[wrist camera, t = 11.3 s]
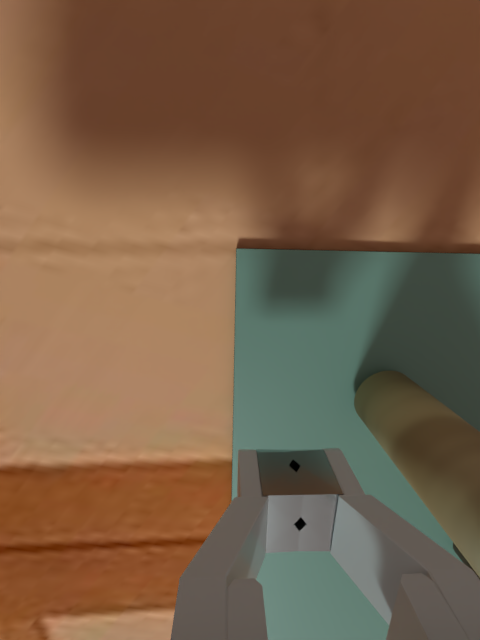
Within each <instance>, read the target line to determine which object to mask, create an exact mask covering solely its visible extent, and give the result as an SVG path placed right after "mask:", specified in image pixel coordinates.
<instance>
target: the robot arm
mask: <svg viewBox="0 0 480 640" xmlns="http://www.w3.org/2000/svg"><path fill="white" fill-rule="evenodd" d="M294 551H331V552H330V554H331V555H332V556H333V557H334V558H335V560H336V561H337V562H338V563H339V565H340V566H341V567H342V568H343V570H344V571H345V572H346V573H347V574H348V576H349V577H350V578H351V579H352V581H353V582H354V583H355V584H356V585H357V587H358V588H359V589H360V590H361V592H362V593H363V594H364V595H365V597H366V598H367V599H368V600H369V601H370V603H371V604H372V605H373V606H374V608H375V609H376V610H377V611H378V612H379V614H380V615H381V616H382V617H383V619H384V620H385V621H386V622H387V624H388V625H389V629H388V633H387V637H386V640H480V580H479V578H478V577H477V575H476V574H475V573H474V571H473V570H472V569H470V568H469V567H468V566H466V565H465V564H464V563H462V562H461V561H460V560H458V559H457V558H455V557H454V556H453V555H451V554H450V553H449V552H447V551H446V550H445V549H443V548H442V547H441V546H439V545H438V544H437V543H435V542H434V541H433V540H431V539H430V538H429V537H427V536H426V535H424V534H423V533H422V532H420V531H419V530H418V529H416V528H415V527H414V526H412V525H411V524H410V523H408V522H407V521H406V520H404V519H403V518H402V517H400V516H399V515H398V514H396V513H395V512H393V511H392V510H391V509H389V508H388V507H387V506H385V505H384V504H383V503H381V502H380V501H379V500H377V499H376V498H375V497H373V496H372V495H365V493H364V491H363V489H362V488H361V486H360V484H359V482H358V480H357V478H356V476H355V475H354V473H353V471H352V469H351V467H350V465H349V464H348V462H347V460H346V458H345V456H344V454H343V452H342V451H341V450H340V449H339V448H328V449H301V450H274V449H256V450H250V449H239V450H238V476H237V497H235V498H234V499H233V501H232V502H231V504H230V505H229V507H228V508H227V510H226V511H225V512H224V514H223V515H222V517H221V518H220V520H219V521H218V523H217V524H216V526H215V527H214V529H213V530H212V532H211V533H210V535H209V536H208V537H207V539H206V540H205V542H204V543H203V545H202V546H201V548H200V549H199V551H198V552H197V554H196V555H195V557H194V558H193V559H192V561H191V562H190V564H189V565H188V567H187V568H186V570H185V571H184V573H183V574H182V576H181V577H180V580H179V587H178V593H177V600H176V607H175V614H174V620H173V627H172V634H171V640H268V636H267V626H266V617H265V608H264V598H263V589H262V585H261V584H260V583H259V582H258V581H257V580H256V578H257V575H258V573H259V570H260V568H261V565H262V563H263V560H264V558H265V553H277V552H294Z"/></svg>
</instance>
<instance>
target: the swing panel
mask: <svg viewBox="0 0 480 640" xmlns="http://www.w3.org/2000/svg"><path fill="white" fill-rule="evenodd" d="M354 407H355V410H356V413H357V414H358V416H359V417H360V418H361V420H362V421H363V422H364V424H365V425H366V426H367V428H368V429H369V430H370V432H371V433H372V434H373V436H374V437H375V438H376V440H377V441H378V442H379V444H380V445H381V447H382V448H383V449H384V451H385V452H386V453H387V455H388V456H389V457H390V459H391V460H392V461H393V463H394V464H395V465H396V467H397V468H398V469H399V471H400V472H401V473H402V475H403V476H404V477H405V479H406V480H407V481H408V483H409V484H410V485H411V487H412V488H413V489H414V491H415V492H416V493H417V495H418V496H419V497H420V499H421V500H422V501H423V503H424V504H425V505H426V507H427V508H428V509H429V511H430V512H431V513H432V515H433V516H434V517H435V519H436V520H437V521H438V523H439V524H440V525H441V527H442V528H443V529H444V531H445V532H446V533H447V535H448V536H449V537H450V539H451V540H452V541H453V543H454V544H455V545H456V547H457V548H458V549H459V551H460V552H461V553H462V555H463V556H464V557H465V559H466V560H467V561H468V563H469V564H470V565H471V567H472V568H473V569H474V571H475V572H476V573H477V575H478V576H479V577H480V432H479V431H478V430H477V429H475V428H474V427H473V426H471V425H470V424H469V423H467V422H466V421H465V420H463V419H462V418H461V417H460V416H458V415H457V414H456V413H454V412H453V411H452V410H450V409H449V408H448V407H446V406H445V405H444V404H442V403H441V402H440V401H439V400H437V399H436V398H435V397H433V396H432V395H431V394H429V393H428V392H427V391H425V390H424V389H423V388H421V387H420V386H419V385H418V384H416V383H415V382H414V381H412V380H411V379H410V378H408V377H407V376H406V375H404V374H402V373H400V372H397V371H382V372H378V373H376V374H373V375H372V376H370V377H368V378H367V379H366V380H365V381H364V382H363V383H362V384H361V385H360V386H359V388H358V390H357V392H356V394H355V398H354Z"/></svg>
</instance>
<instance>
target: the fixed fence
mask: <svg viewBox="0 0 480 640" xmlns="http://www.w3.org/2000/svg"><path fill="white" fill-rule="evenodd" d="M453 549H454V551H455V553H456V554H457V555H458V557H459V558H460V559H461V561H462V562H463V563H464V564H465V565H466V566H468V567H469V568H470V569H472V570H473V571H474V569H473V568H472V567H471V565H470V564H469V563H468V561H467V560H466V559H465V557H464V556H463V555H462V553H461V552H460V551H459V549H458V548H457V547H456V545H455V544H454V543H453ZM474 573H475V574H476V575H477V573H476V572H475V571H474ZM477 577H478V578H479V580H480V577H479V576H478V575H477Z"/></svg>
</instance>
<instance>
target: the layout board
mask: <svg viewBox="0 0 480 640" xmlns="http://www.w3.org/2000/svg"><path fill="white" fill-rule="evenodd" d="M382 371H397V372H400V373H402V374H404V375H406V376H407V377H408V378H410V379H411V380H412V381H414V382H415V383H416V384H418V385H419V386H420V387H421V388H423V389H424V390H425V391H427V392H428V393H429V394H431V395H432V396H433V397H435V398H436V399H437V400H439V401H440V402H441V403H442V404H444V405H445V406H446V407H448V408H449V409H450V410H452V411H453V412H454V413H456V414H457V415H458V416H460V417H461V418H462V419H463V420H465V421H466V422H467V423H469V424H470V425H471V426H473V427H474V428H475V429H477V430H478V431H479V432H480V254H466V253H420V252H374V251H329V250H283V249H237V248H236V294H235V347H234V400H233V453H232V501H233V499H234V498H235V497H237V476H238V450H239V449H250V450H256V449H274V450H301V449H328V448H339V449H340V450H341V451H342V452H343V454H344V456H345V458H346V460H347V462H348V464H349V465H350V467H351V469H352V471H353V473H354V475H355V476H356V478H357V480H358V482H359V484H360V486H361V488H362V489H363V491H364V493H365V495H372V496H373V497H375V498H376V499H377V500H379V501H380V502H381V503H383V504H384V505H385V506H387V507H388V508H389V509H391V510H392V511H393V512H395V513H396V514H398V515H399V516H400V517H402V518H403V519H404V520H406V521H407V522H408V523H410V524H411V525H412V526H414V527H415V528H416V529H418V530H419V531H420V532H422V533H423V534H424V535H426V536H427V537H429V538H430V539H431V540H433V541H434V542H435V543H437V544H438V545H439V546H441V547H442V548H443V549H445V550H446V551H447V552H449V553H450V554H451V555H453V556H454V557H455V558H457V559H458V560H460V561H461V559H460V558H459V557H458V555H457V554H456V553H455V551H454V549H453V541H452V540H451V539H450V537H449V536H448V535H447V533H446V532H445V531H444V529H443V528H442V527H441V525H440V524H439V523H438V521H437V520H436V519H435V517H434V516H433V515H432V513H431V512H430V511H429V509H428V508H427V507H426V505H425V504H424V503H423V501H422V500H421V499H420V497H419V496H418V495H417V493H416V492H415V491H414V489H413V488H412V487H411V485H410V484H409V483H408V481H407V480H406V479H405V477H404V476H403V475H402V473H401V472H400V471H399V469H398V468H397V467H396V465H395V464H394V463H393V461H392V460H391V459H390V457H389V456H388V455H387V453H386V452H385V451H384V449H383V448H382V447H381V445H380V444H379V442H378V441H377V440H376V438H375V437H374V436H373V434H372V433H371V432H370V430H369V429H368V428H367V426H366V425H365V424H364V422H363V421H362V420H361V418H360V417H359V416H358V414H357V413H356V410H355V407H354V398H355V394H356V392H357V390H358V388H359V386H360V385H361V384H362V383H363V382H364V381H365V380H366V379H367V378H368V377H370V376H372V375H373V374H376V373H378V372H382ZM330 552H331V551H294V552H277V553H265V558H264V560H263V563H262V565H261V568H260V570H259V573H258V575H257V578H256V580H257V581H258V582H259V583H260V584H261V585H262V589H263V598H264V608H265V617H266V626H267V636H268V640H386V637H387V633H388V629H389V625H388V624H387V622H386V621H385V620H384V619H383V617H382V616H381V615H380V614H379V612H378V611H377V610H376V609H375V608H374V606H373V605H372V604H371V603H370V601H369V600H368V599H367V598H366V597H365V595H364V594H363V593H362V592H361V590H360V589H359V588H358V587H357V585H356V584H355V583H354V582H353V581H352V579H351V578H350V577H349V576H348V574H347V573H346V572H345V571H344V570H343V568H342V567H341V566H340V565H339V563H338V562H337V561H336V560H335V558H334V557H333V556H332V555H331V554H330ZM461 562H462V561H461ZM462 563H463V562H462Z"/></svg>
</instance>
